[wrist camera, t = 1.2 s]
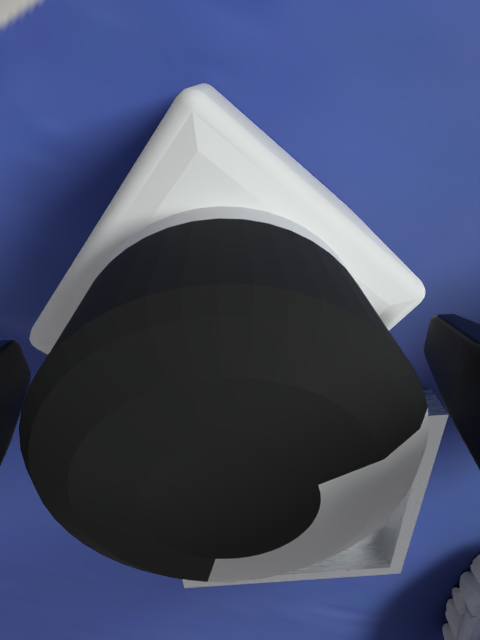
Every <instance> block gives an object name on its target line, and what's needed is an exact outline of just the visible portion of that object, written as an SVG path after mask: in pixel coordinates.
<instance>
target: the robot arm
mask: <svg viewBox="0 0 480 640" xmlns="http://www.w3.org/2000/svg"><path fill="white" fill-rule="evenodd" d="M424 353H425V357H426V360H427V362H428V365H429V367H430V370H431V372H432V375H433V377H434V379H435V382H436V384H437V387H438V389H439V392H440V394H441V396H442V399H443V401H444V404H445V406H446V408H447V410H448V413H449V415H450V417H451V419H452V420H453V422H454V424H455V426H456V428H457V430H458V432H459V433H460V435H461V437H462V439H463V441H464V442H465V444H466V446H467V448H468V450H469V451H470V453H471V455H472V457H473V459H474V460H475V462H476V464H477V466H478V468H479V469H480V324H478V323H475V322H473V321H470V320H468V319H465V318H463V317H460V316H457V315H455V314H441V315H435V316H433V317H432V319H431V321H430V324H429V329H428V333H427V337H426V341H425V346H424ZM29 383H30V370H29V367H28V364H27V362H26V359H25V357H24V354H23V352H22V349H21V347H20V345H19V343H18V342H16V341H15V340H2V341H0V465H1V463H2V461H3V458H4V456H5V454H6V452H7V449H8V447H9V444H10V442H11V439H12V436H13V433H14V431H15V427H16V424H17V421H18V418H19V415H20V411H21V408H22V405H23V402H24V399H25V395H26V392H27V389H28V386H29Z"/></svg>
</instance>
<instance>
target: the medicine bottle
mask: <svg viewBox="0 0 480 640" xmlns="http://www.w3.org/2000/svg"><path fill="white" fill-rule="evenodd" d="M424 297H425V288H424V285H423V284H422V282H421V280H420V279H419V278H418V277H417V276H416V275H415V274H414V273H413V272H412V271H411V270H410V269H409V268H408V267H407V266H406V265H405V264H404V263H403V262H402V261H401V260H400V259H399V258H398V257H397V256H396V255H395V254H394V253H393V252H392V251H391V250H390V249H389V248H388V247H387V246H386V245H385V244H384V243H383V242H382V241H381V240H380V239H379V238H378V237H377V236H376V235H375V234H374V233H373V232H372V231H371V230H370V229H369V228H368V227H367V226H366V225H365V224H364V223H363V222H362V221H361V219H360V218H359V217H358V216H357V215H356V214H355V213H354V212H353V211H352V210H351V209H350V208H349V207H348V206H346V205H345V204H344V203H343V202H342V201H341V200H340V199H339V198H337V197H336V196H335V195H334V194H333V193H332V192H331V191H330V190H328V189H327V188H326V187H325V186H324V185H323V184H322V183H320V182H319V181H318V180H317V179H316V178H315V177H314V176H313V175H311V174H310V173H309V172H308V171H307V170H306V169H305V168H304V167H302V166H301V165H300V164H299V163H298V162H297V161H296V160H295V159H293V158H292V157H291V156H290V155H289V154H288V153H287V152H285V151H284V150H283V149H282V148H281V147H280V146H279V145H278V144H276V143H275V142H274V141H273V140H272V139H271V138H270V137H269V136H267V135H266V134H265V133H264V132H263V131H262V130H261V129H260V128H258V127H257V126H256V125H255V124H254V123H253V122H252V121H250V120H249V119H248V118H247V117H246V116H245V115H244V114H243V113H241V112H240V111H239V110H238V109H237V108H236V107H235V106H234V105H232V104H231V103H230V102H229V101H228V100H227V99H226V98H225V97H223V96H222V95H221V94H220V93H219V92H218V91H217V90H215V89H214V88H213V87H212V86H211V85H209V84H207V83H203V84H198V85H195V86H192V87H189V88H186V89H184V90H183V91H182V92H181V93H180V94H179V95H178V96H177V97H176V98H175V100H174V101H173V103H172V105H171V106H170V108H169V109H168V111H167V113H166V114H165V116H164V117H163V119H162V121H161V122H160V124H159V125H158V127H157V129H156V130H155V132H154V133H153V135H152V137H151V138H150V140H149V142H148V143H147V145H146V146H145V148H144V150H143V151H142V153H141V154H140V156H139V158H138V159H137V161H136V162H135V164H134V166H133V167H132V169H131V170H130V172H129V174H128V175H127V177H126V178H125V180H124V182H123V183H122V185H121V186H120V188H119V190H118V191H117V193H116V194H115V196H114V198H113V199H112V201H111V202H110V204H109V206H108V207H107V209H106V210H105V212H104V214H103V215H102V217H101V218H100V220H99V222H98V223H97V225H96V226H95V228H94V230H93V231H92V233H91V234H90V236H89V238H88V239H87V241H86V242H85V244H84V246H83V247H82V249H81V250H80V252H79V254H78V255H77V257H76V258H75V260H74V262H73V263H72V265H71V266H70V268H69V270H68V271H67V273H66V274H65V276H64V278H63V279H62V281H61V282H60V284H59V286H58V287H57V289H56V290H55V292H54V294H53V295H52V297H51V298H50V300H49V302H48V303H47V305H46V306H45V308H44V310H43V311H42V313H41V314H40V316H39V318H38V319H37V321H36V322H35V324H34V326H33V327H32V329H31V334H30V339H29V340H30V342H31V344H32V345H33V346H34V347H35V348H37V349H38V350H40V351H42V352H44V353H46V354H48V356H47V358H46V359H45V361H44V362H43V364H42V366H41V367H40V369H39V371H38V372H37V374H36V376H35V377H34V379H33V381H32V382H31V384H30V386H29V388H28V391H27V394H26V397H25V400H24V403H23V405H22V410H21V418H20V425H19V434H20V446H21V452H22V455H23V459H24V462H25V466H26V469H27V471H28V473H29V476H30V478H31V480H32V482H33V484H34V486H35V488H36V490H37V492H38V494H39V496H40V498H41V500H42V502H43V504H44V505H45V507H46V508H47V509H48V511H49V512H50V513H51V515H52V516H53V517H54V519H55V520H56V521H57V522H58V523H59V524H60V525H62V526H63V527H64V528H65V529H66V530H67V531H68V532H69V533H70V534H71V535H73V536H74V537H75V538H77V539H78V540H79V541H81V542H82V543H83V544H85V545H86V546H88V547H90V548H91V549H93V550H95V551H97V552H98V553H100V554H102V555H104V556H106V557H108V558H111V559H113V560H115V561H117V562H119V563H122V564H125V565H128V566H130V567H133V568H136V569H139V570H143V571H147V572H151V573H155V574H159V575H163V576H168V577H173V578H179V579H185V580H192V581H203V582H237V581H248V580H256V579H263V578H267V577H272V576H277V575H281V574H284V573H288V572H291V571H295V570H298V569H301V568H304V567H308V566H310V565H313V564H316V563H318V562H321V561H323V560H326V559H328V558H330V557H332V556H334V555H337V554H339V553H341V552H343V551H345V550H347V549H348V548H350V547H351V546H353V545H355V544H356V543H358V542H360V541H361V540H363V539H364V538H365V537H367V536H368V535H369V534H371V533H372V532H373V531H375V530H376V529H377V528H378V527H379V526H380V525H381V524H383V523H384V522H385V521H386V520H387V519H388V518H389V517H390V516H391V515H392V514H393V512H394V511H395V510H396V508H397V507H398V506H399V505H400V503H401V502H402V501H403V499H404V498H405V496H406V494H407V492H408V491H409V489H410V487H411V485H412V483H413V481H414V479H415V476H416V473H417V471H418V468H419V466H420V463H421V460H422V457H423V454H424V451H425V449H426V443H427V437H428V430H429V421H428V406H427V402H426V399H425V395H424V391H423V387H422V385H421V383H420V381H419V379H418V377H417V375H416V373H415V371H414V369H413V367H412V365H411V364H410V362H409V361H408V359H407V358H406V356H405V355H404V353H403V352H402V350H401V349H400V347H399V346H398V344H397V343H396V341H395V340H394V338H393V337H392V335H391V333H390V332H389V330H390V329H391V328H393V327H394V326H395V325H396V324H397V323H398V322H399V321H400V320H402V319H403V318H404V317H405V316H406V315H407V314H408V313H409V312H411V311H412V310H413V309H414V308H415V307H416V306H417V305H418V304H420V303H421V301H422V300H423V299H424Z"/></svg>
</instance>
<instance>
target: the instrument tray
mask: <svg viewBox="0 0 480 640" xmlns="http://www.w3.org/2000/svg"><path fill="white" fill-rule="evenodd" d="M423 391H424V395H425V399H426V402H427V406H428V421H429V430H428V437H427V443H426V449H425V451H424V454H423V457H422V460H421V463H420V466H419V468H418V471H417V473H416V476H415V479H414V481H413V483H412V485H411V487H410V489H409V491H408V492H407V494H406V496H405V498H404V499H403V501H402V502H401V503H400V505H399V506H398V507H397V508H396V510H395V511H394V512H393V514H392V515H391V516H390V517H389V518H388V519H387V520H386V521H385V522H384V523H383V524H381V525H380V526H379V527H378V528H377V529H376V530H375V531H373V532H372V533H371V534H369V535H368V536H367V537H365V538H364V539H363V540H361V541H360V542H358V543H356V544H355V545H353V546H351V547H350V548H348V549H347V550H345V551H343V552H341V553H339V554H337V555H334V556H332V557H330V558H328V559H326V560H323V561H321V562H318V563H316V564H313V565H310V566H308V567H304V568H301V569H298V570H295V571H291V572H288V573H284V574H281V575H277V576H272V577H267V578H263V579H256V580H248V581H237V582H203V581H192V580H185V579H182V580H183V584H184V588H192V587H207V586H222V585H236V584H251V583H266V582H281V581H295V580H310V579H325V578H340V577H354V576H369V575H384V574H398V573H401V570H402V566H403V563H404V560H405V556H406V553H407V550H408V547H409V543H410V540H411V537H412V533H413V530H414V527H415V524H416V520H417V517H418V514H419V511H420V507H421V504H422V501H423V497H424V494H425V491H426V488H427V484H428V481H429V478H430V474H431V471H432V468H433V465H434V461H435V458H436V455H437V451H438V448H439V445H440V442H441V438H442V435H443V432H444V429H445V425H446V422H447V419H448V415H449V414H448V413H447V411H446V410H445V408H444V407H443V406H442V404H441V403H440V401H439V400H438V398H437V397H436V395H435V394H434V392H433V391H432V389H429V390H423Z"/></svg>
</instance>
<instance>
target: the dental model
mask: <svg viewBox="0 0 480 640" xmlns="http://www.w3.org/2000/svg"><path fill="white" fill-rule="evenodd" d="M452 596H453V598H451V599H448V601H447V604H446V610H447V611H446V612H445V615H446V619H447V621H448V623H446V624H444V625H443V628H442V631H443V636H444V640H480V554H479V555H478V556H477V557H476V558H475V559H474V560H473V563H472V564H471V571H467V572H464V573H463V574H462V575H461V576H460V588H457V587H455V588H453V589H452Z"/></svg>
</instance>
